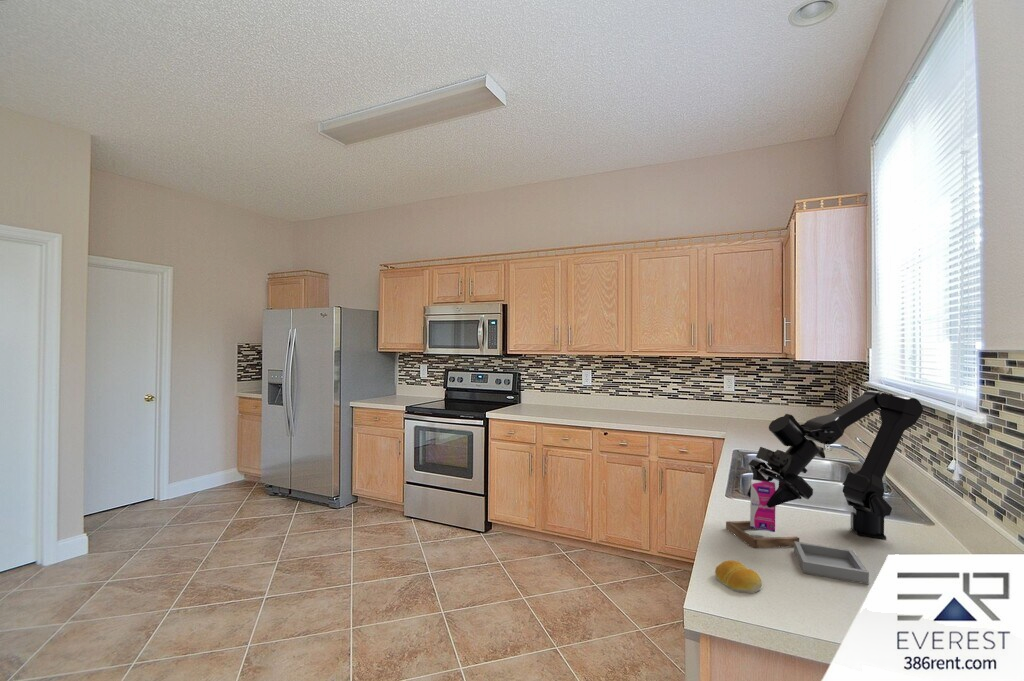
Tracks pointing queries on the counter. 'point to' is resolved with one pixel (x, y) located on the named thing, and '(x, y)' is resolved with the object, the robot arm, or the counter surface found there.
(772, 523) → the supplement box
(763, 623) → the counter surface
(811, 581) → the counter surface
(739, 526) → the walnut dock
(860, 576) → the grey tray
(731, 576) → the bread roll
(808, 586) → the counter surface
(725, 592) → the counter surface
